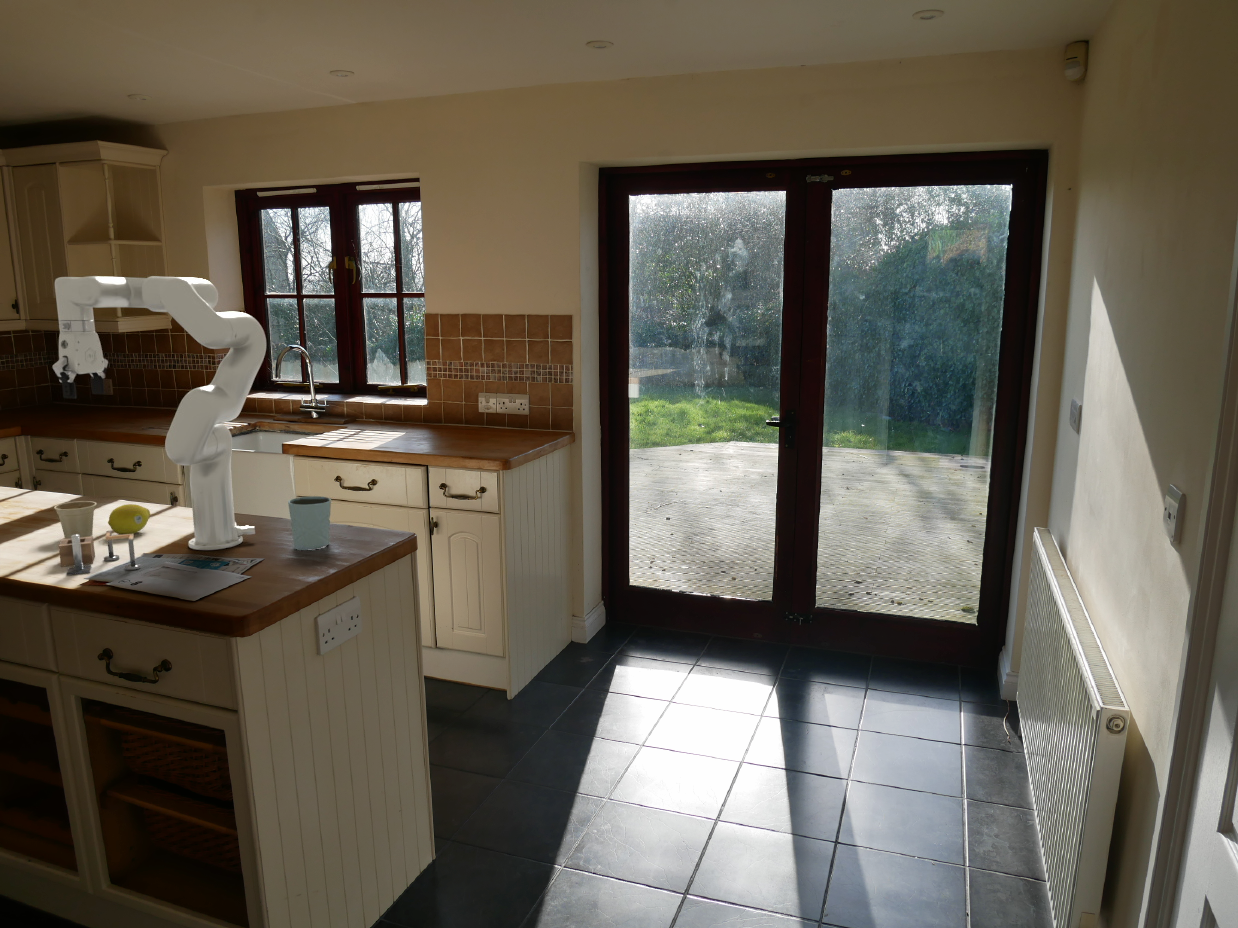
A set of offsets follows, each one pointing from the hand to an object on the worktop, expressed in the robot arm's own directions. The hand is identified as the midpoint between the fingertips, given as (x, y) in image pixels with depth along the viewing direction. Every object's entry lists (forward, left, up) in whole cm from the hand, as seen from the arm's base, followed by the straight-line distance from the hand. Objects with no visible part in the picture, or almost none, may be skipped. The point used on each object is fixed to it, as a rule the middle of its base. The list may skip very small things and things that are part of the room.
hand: (84, 396), depth 220 cm
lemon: (-7, -2, -38) cm, 38 cm away
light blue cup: (-49, +30, -38) cm, 69 cm away
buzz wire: (-6, +27, -37) cm, 47 cm away
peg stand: (+2, +30, -37) cm, 48 cm away
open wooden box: (+3, +21, -37) cm, 43 cm away
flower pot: (+5, -4, -38) cm, 38 cm away
